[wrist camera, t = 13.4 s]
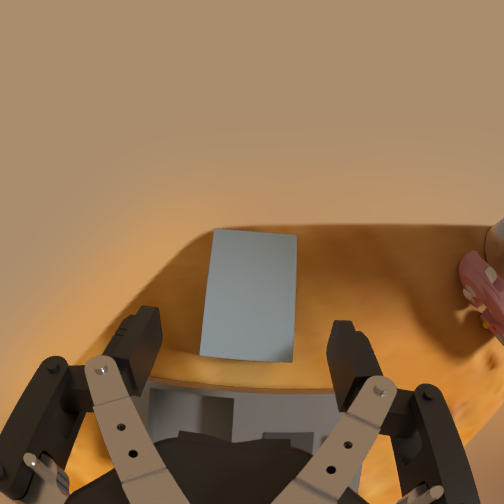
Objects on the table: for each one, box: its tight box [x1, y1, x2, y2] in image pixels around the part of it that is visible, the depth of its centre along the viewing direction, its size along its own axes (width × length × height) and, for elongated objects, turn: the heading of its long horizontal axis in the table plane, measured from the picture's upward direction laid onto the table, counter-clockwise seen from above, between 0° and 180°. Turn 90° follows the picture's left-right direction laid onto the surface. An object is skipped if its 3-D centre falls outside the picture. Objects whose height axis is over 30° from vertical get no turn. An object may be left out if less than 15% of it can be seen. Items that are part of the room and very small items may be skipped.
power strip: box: [131, 376, 362, 493], centre depth 16 cm, size 15×8×4 cm, turn 86°
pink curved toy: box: [458, 250, 504, 346], centre depth 19 cm, size 10×5×7 cm, turn 38°
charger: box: [200, 229, 297, 363], centre depth 17 cm, size 4×6×8 cm, turn 176°
